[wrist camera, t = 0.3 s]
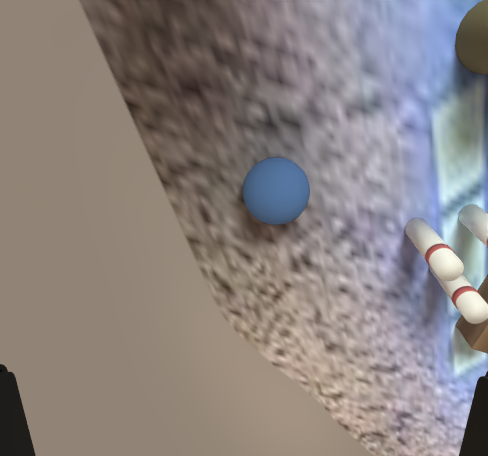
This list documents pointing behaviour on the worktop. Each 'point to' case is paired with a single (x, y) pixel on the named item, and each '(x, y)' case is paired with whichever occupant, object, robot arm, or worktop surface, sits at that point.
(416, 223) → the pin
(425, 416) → the worktop surface
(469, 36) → the cork
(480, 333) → the wall
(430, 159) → the worktop surface
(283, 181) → the ball
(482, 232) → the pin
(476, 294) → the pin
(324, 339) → the worktop surface
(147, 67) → the worktop surface
